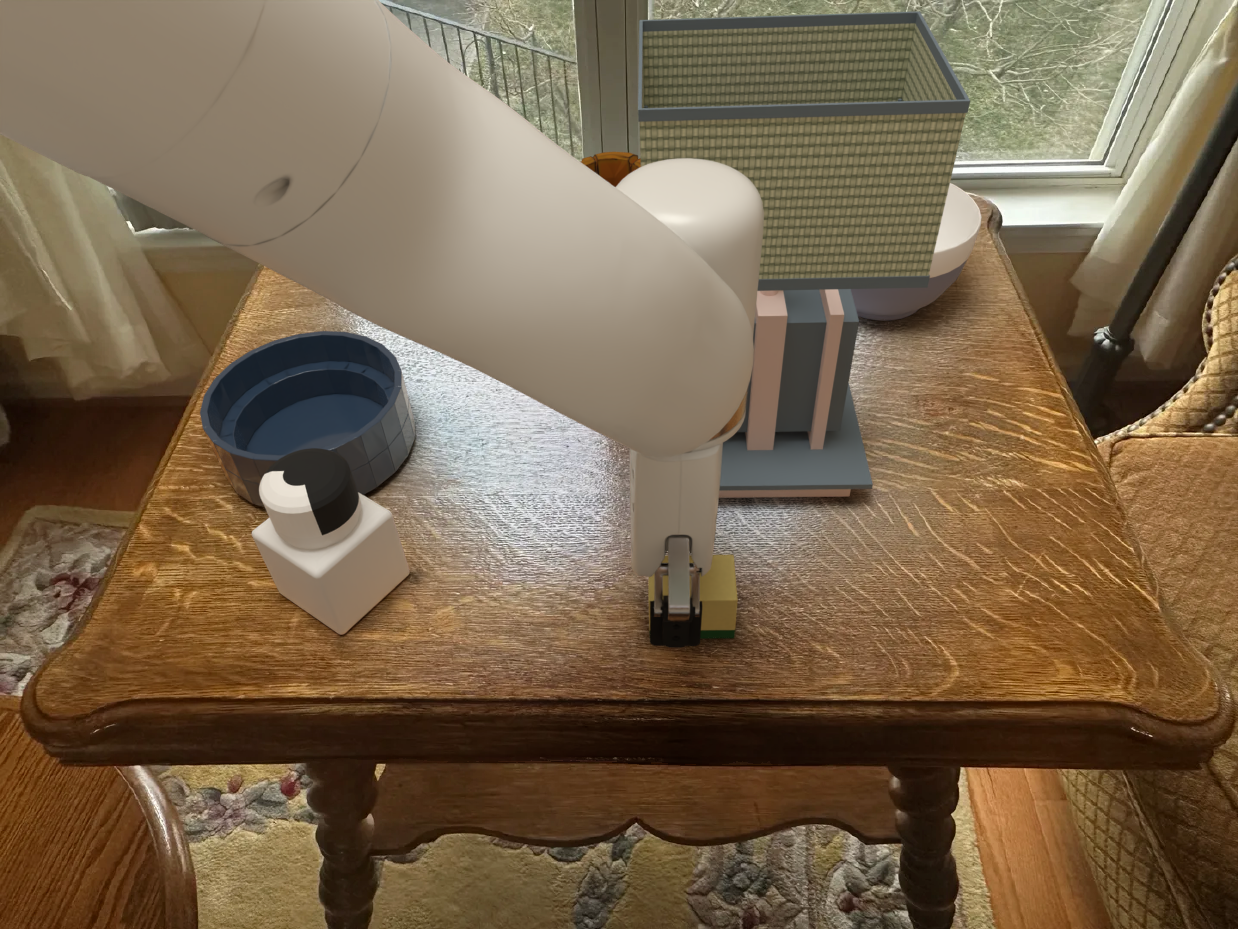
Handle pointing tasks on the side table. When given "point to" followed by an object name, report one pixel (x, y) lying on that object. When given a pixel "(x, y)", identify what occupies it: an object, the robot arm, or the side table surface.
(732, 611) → the sponge
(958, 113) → the desk lamp
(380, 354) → the bowl
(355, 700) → the side table surface
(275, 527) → the medicine bottle
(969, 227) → the bowl
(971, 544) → the side table surface
